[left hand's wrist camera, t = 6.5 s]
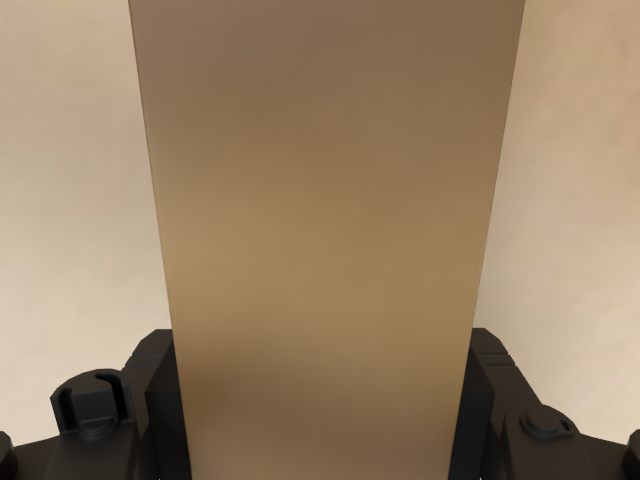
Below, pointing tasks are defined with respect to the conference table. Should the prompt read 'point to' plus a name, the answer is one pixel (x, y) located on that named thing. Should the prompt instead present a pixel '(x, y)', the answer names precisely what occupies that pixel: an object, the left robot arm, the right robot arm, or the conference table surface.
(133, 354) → the left robot arm
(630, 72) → the conference table surface
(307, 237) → the beam
